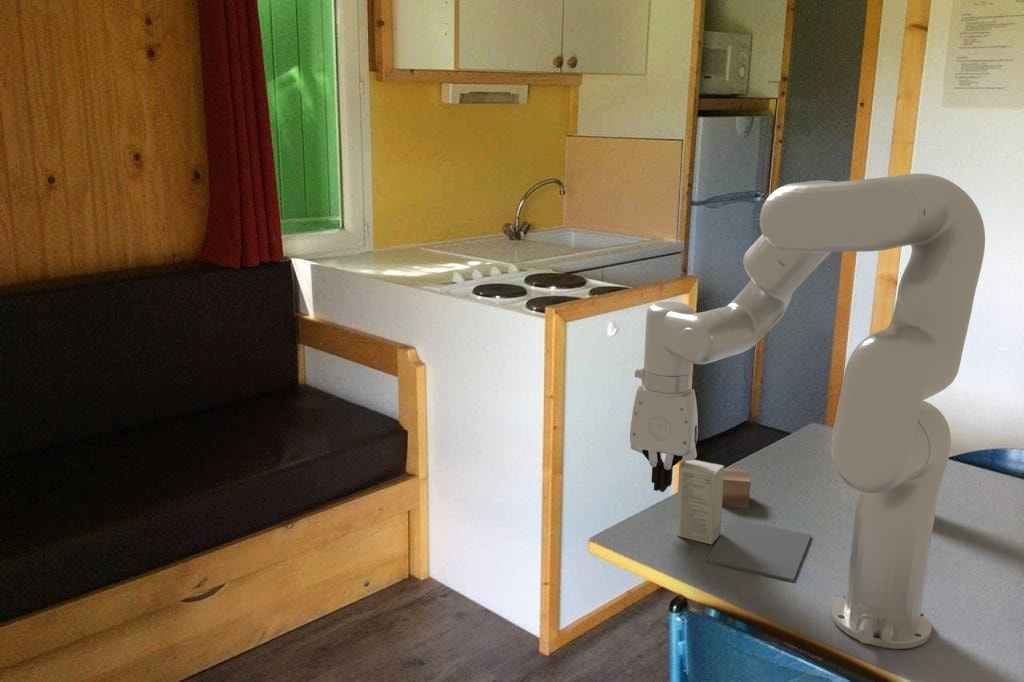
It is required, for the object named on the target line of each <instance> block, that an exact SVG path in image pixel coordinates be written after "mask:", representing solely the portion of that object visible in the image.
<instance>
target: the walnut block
mask: <svg viewBox="0 0 1024 682" xmlns="http://www.w3.org/2000/svg"><path fill="white" fill-rule="evenodd" d="M750 493H751V474H750V470H746V469H745V470H744V469H735V468H724V478H723V498H722V507H732V508H743V509H749V504H750Z"/></svg>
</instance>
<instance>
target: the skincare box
mask: <svg viewBox="0 0 1024 682" xmlns="http://www.w3.org/2000/svg"><path fill="white" fill-rule="evenodd" d="M724 469H725V466H724V465H723V464H719V463H712V462H707V461H703V460H700V459H699V460H698V459H694V460H689V461H683V463H682V464H680V465H679V466H678V489H677V490H678V491H677V513H676V515H677V520H676V536H678V537H682V538H684V539H688V540H693V541H696V542H699V543H704V544H709V545H712V544H714V543H715V541H717V540H718V539H719V537H720V536H721V534H722V532H721V531H722V517H723V516H722V513H723V512H722V511H723V506H722V498H723V478H724Z"/></svg>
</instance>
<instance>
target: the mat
mask: <svg viewBox="0 0 1024 682" xmlns="http://www.w3.org/2000/svg"><path fill="white" fill-rule="evenodd" d="M729 519H730V520H729V521H728V522H727V524H726V526H725V528H724V529H723V531H722V532H721V534H720V536H719V537H718V538H717V540H716V543H715V544H714V545H713V547H712V549H711V551H710V552H709V554H708V556H707V558H706V559H705V562H706V563H709V564H714V565H717V566H724V567H727V568H732V569H735V568H736V570H740V571H744V572H748V571H749V572H748V573H753V574H758V575H761V574H762V575H763V576H766V577H770V576H771V578H775V579H780V580H784V581H788V582H793V583H794V581H795V579H796V577H797V573H798V571H799V568H800V566H801V563H802V560H803V558H804V556H805V553H806V550H807V548H808V546H809V543H810V540H811V538H812V534H810V533H806V532H805V533H804V532H802V531H801V532H799V531H795V530H790V529H785V528H780V527H777V526H770V525H766V524H761V523H757V522H752V521H747V520H741V519H737V518H729Z"/></svg>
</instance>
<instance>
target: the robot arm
mask: <svg viewBox="0 0 1024 682" xmlns="http://www.w3.org/2000/svg"><path fill="white" fill-rule="evenodd" d="M983 220H984V219H983V217H982V214H981V213H980V210H979V208H978V206H977V204H976V203H975V201H974V200H973V199H972V198H971V196H970V195H969V194H968V193H967V192H966V191H965V190H963V188H961V187H960V186H958V185H957V184H956V183H954V182H953V181H951V180H950V179H947V178H945V177H942V176H938V175H934V174H931V173H908V174H907V173H905V174H900V175H899V174H898V175H893V176H884V177H883V176H881V177H876V178H865V179H864V178H863V179H856V180H855V179H853V180H844V181H843V180H842V181H833V180H824V179H823V180H822V179H819V180H809V181H802V182H793V183H792V182H791V183H788V184H785V185H782V186H780V187H779V188H777V189H775V190H774V191H772V193H770V194H769V196H768V197H767V198H766V199H765V201H764V202H763V205H762V207H761V211H760V213H759V227H760V230H761V231H760V232H761V235H760V236H759V237H758V238H757V239H756V240H755V242H753V244H752V245H751V246H750V247H749V248H748V249H747V250H746V252H745V253H744V256H743V259H742V260H743V268H744V270H745V272H746V275H747V276H748V277H749V279H750V280H749V281H748V283H747V285H745V287H744V288H743V289H742V290H741V291H740V292H739V294H738V295H736V296H735V297H734V299H733V300H732V301H731V302H730V303H728V304H727V305H726V306H723V307H718V308H714V309H710V310H706V311H701V312H695V310H694V308H693V307H692V306H691V305H689V304H686V303H683V302H676V301H661V302H655V303H653V304H651V305H650V306H649V307H648V309H647V311H646V317H645V319H646V320H645V335H644V336H645V341H644V357H643V368H641V369H635V371H634V378H638V379H640V380H641V384H640V385H639V386H638V387H637V389H636V392H635V397H634V400H633V406H632V413H631V420H630V429H629V442H630V449H631V450H633V451H635V452H638V453H640V454H642V455H643V456H644V457H645V458H646V460H647V461H648V463H649V465H650V466H651V481H650V482H651V483H652V484H653V491H656V492H658V491H659V492H661V493H664V492H666V491H667V488H669V487H670V486H672V482H673V472H674V471H673V468H674V466H676V465H678V463H679V462H681V461H683V462H685V461H689V460H696V458H697V456H698V453H697V448H696V446H697V442H698V436H699V435H698V432H699V430H698V429H699V428H698V427H699V426H698V424H699V422H698V421H699V420H698V405H697V403H698V402H697V397H696V392H695V389H693V388H692V381H693V380H692V377H693V364H694V365H706V364H709V363H714V362H716V361H717V362H718V361H719V360H723V359H725V358H729V357H733V356H737V355H740V354H742V353H744V352H746V351H748V350H750V349H752V348H753V347H754V346H755V345H756V344H757V343H758V342H759V341H761V339H763V338H764V336H766V335H767V334H768V332H770V331H771V330H772V329H773V327H774V326H776V324H777V323H779V321H780V320H781V319H782V318H783V316H784V314H785V313H786V311H787V309H788V307H789V305H790V303H791V300H792V296H793V293H794V292H795V291H796V289H797V288H799V286H801V284H802V283H803V282H804V281H805V280H806V279H807V278H808V277H809V276H810V274H811V273H812V272H814V271H815V270H816V268H817V267H819V266H820V264H822V263H823V261H824V260H825V259H826V258H827V257H829V256H830V254H831V253H839V252H841V253H843V252H846V253H850V252H852V253H855V252H856V253H857V252H863V253H865V252H880V251H887V250H893V249H897V248H901V247H907V246H910V247H911V254H910V257H909V260H908V263H907V265H906V267H905V268H904V270H903V272H902V273H903V274H902V275H901V278H900V281H899V284H898V289H897V295H896V302H895V306H894V309H893V314H892V318H891V320H890V323H889V325H888V326H887V327H886V328H884V329H882V330H879V331H876V332H874V333H872V334H870V335H869V336H867V337H866V338H864V339H863V340H861V341H860V342H859V344H857V346H855V348H854V349H853V351H852V353H851V355H850V357H849V359H848V361H847V363H846V366H845V370H844V374H843V379H842V384H841V390H840V393H839V400H838V403H837V410H836V413H835V414H836V415H835V418H834V419H835V420H834V426H833V430H832V438H831V456H832V461H833V465H834V467H835V468H834V469H835V470H836V472H837V474H838V475H839V476H840V478H841V479H842V480H843V481H844V482H845V483H846V485H848V486H849V487H851V488H852V489H854V490H856V491H858V493H857V497H856V505H855V513H854V520H853V521H854V522H853V528H852V529H853V530H852V538H851V544H850V546H851V547H850V555H849V562H848V563H849V564H848V570H847V571H848V572H847V581H846V590H845V593H844V594H843V595H841V596H839V597H837V598H836V599H834V601H833V602H832V605H831V613H830V614H831V618H832V620H833V622H834V624H835V625H837V627H838V628H839V629H840V630H841V631H843V632H844V633H845V634H847V635H848V636H850V637H852V638H854V639H856V640H857V641H859V642H861V643H863V644H867V645H872V646H874V647H879V648H886V649H892V650H893V649H894V650H895V649H896V650H903V649H904V650H905V649H912V648H916V647H920V646H921V645H924V644H925V643H927V642H928V640H929V639H930V638H931V635H932V629H933V626H932V622H931V620H930V618H929V617H928V616H927V615H926V614H925V613H924V611H922V607H923V601H924V600H923V599H924V593H925V585H926V578H927V571H928V565H929V564H928V563H929V558H930V549H931V543H932V537H933V528H934V523H935V519H936V518H935V517H936V509H937V506H938V505H937V504H938V500H939V499H938V498H939V493H940V489H941V485H942V481H943V479H944V474H945V472H946V468H947V465H948V462H949V458H950V453H951V447H952V434H951V429H950V426H949V423H948V420H947V419H946V417H945V416H944V414H943V413H942V412H941V411H940V410H939V409H938V408H937V406H934V405H933V404H932V403H930V402H927V401H925V400H927V399H929V398H931V397H933V396H936V395H937V394H939V393H941V392H943V391H944V390H946V389H947V388H948V387H949V386H950V385H951V384H953V382H955V379H956V377H957V375H958V373H959V371H960V370H959V369H960V366H961V360H962V357H963V351H964V347H965V342H966V338H967V334H968V330H969V326H970V325H969V324H970V321H971V316H972V311H973V305H974V299H975V295H976V290H977V287H978V283H979V278H980V275H981V269H982V266H983V262H984V257H985V247H986V232H985V231H986V230H985V226H984V221H983ZM662 454H665V458H664V461H663V457H662Z"/></svg>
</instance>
